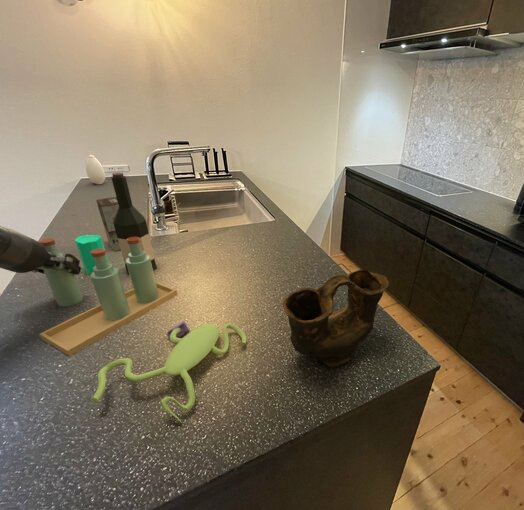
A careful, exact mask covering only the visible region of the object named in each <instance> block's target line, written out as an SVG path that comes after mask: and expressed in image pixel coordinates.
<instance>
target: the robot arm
mask: <svg viewBox="0 0 524 510" xmlns="http://www.w3.org/2000/svg"><path fill="white" fill-rule="evenodd" d="M80 263H81V260H80V259H78V258H77V257H76V256H75V255H73V254H71V253H65V254H64V257H62V256H58V255H55V254H52V253H50V252H47V250H46V249H45V247H44V245H43V244H41V243H40V241H38V240H36V239H34V238H32V237H29V236H28V235H25V234H23V233H21V232H19V231H16V230H14V229H11V228H8V227H4V226H3V225H0V269H3V270H7V271H9V272H12V273H16V274H26V273H30V272H31V273H40V274H42V275H45V273H44V271H43V270H44V269H48V270H52V271H61V270H62V271H67V272H69V273H72V274H74V275H75V276H76V275H77V276H78V275H80V274H81V270H82V267H81V266H80ZM55 265H56V266H55ZM54 266H55V267H54ZM63 266H66V267H65V268H64V267H63Z"/></svg>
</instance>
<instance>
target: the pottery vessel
mask: <svg viewBox="0 0 524 510" xmlns="http://www.w3.org/2000/svg"><path fill="white" fill-rule="evenodd" d="M389 284H390V282H389V280H388V278H387V276H385V275H383V274H379V273H378V272H372V271H369V270H365V269H358V270H355V271H352V272H349V273H347V274H337V275H333V276H331V277H330V278H328V279H327V280H326V282H324V284H322V285H321V286H319V287H318V288H317V287H304V288H299V289H296V290H295V291H293V292H291V293H289V294H288V296H287V297H286V298H284V300H282V303H281V304H282V306H283V311H284V313H285V314H286V315H287V317H288V323H289V327H290V336H289V340H290V342H291V345H292V347H293V349H294V351H296V352H297V353H299V354H301V355H304V356H309V357H312V359H313V360H314V362H319V361H322V362H324V365H326V366H328V367H329V368H332V369H334V368H336V367H340V366H343V365H345V364H348V363H349V362H350V360H351V358H352V357H353V355H354V353H355V352H356V351H357V350H358V349H360V347H359V344H361V343H363V342H364V341H365V340H366V339H368V338H367V337H368V336H369V335H370V333H372V331H373V329H374V324H375V317H376V313H377V310H378V304H379V303H380V301H381V299H382V297H383V295H384V292H385V290H387V288H388V287H389V286H390V285H389ZM343 286H347V297H346V298H347V299H346V301H347V303H348V304H347V305H346V306H344V307H342V308H341V309H340V308H339V310H336V311H335V303H334V297H335V295H336V294H337V292H338V288H340V287H343Z"/></svg>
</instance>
